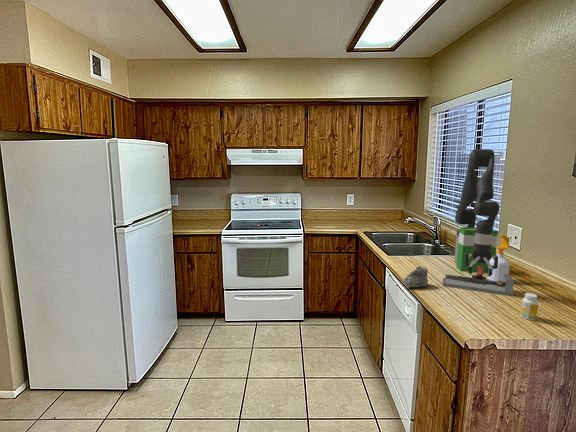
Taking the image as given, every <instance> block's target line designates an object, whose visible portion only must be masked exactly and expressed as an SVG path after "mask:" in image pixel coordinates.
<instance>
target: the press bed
mask: <svg viewBox="0 0 576 432" xmlns="http://www.w3.org/2000/svg"><path fill="white" fill-rule="evenodd" d="M442 286H443V287H448V288H455V289H463V290H469V291H475V292H476V291H477V292H483V293H488V294H489V293H490V294H495V295H502V296H510V297H514V291H513V290H514V278H513V276H512V275H511V274H503V282H502V281H493V280H489V279H487V283H486V284H481V283H473V282H472V277H469V276H462V275H461V276H460V275H455V274H445V277H443V279H442Z"/></svg>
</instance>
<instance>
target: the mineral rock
mask: <svg viewBox="0 0 576 432" xmlns="http://www.w3.org/2000/svg"><path fill="white" fill-rule="evenodd" d="M428 274H429V273H428V268H426V267H421V266H417V267H416V268H415V269H414V270H413V271H412V272H410V273H409V274H407V276H406V277H405V278H404V285H405V286H406V287H410V288H419V287H427V286H428V285H429V283H428V282H429V280H428Z"/></svg>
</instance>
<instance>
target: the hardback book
mask: <svg viewBox="0 0 576 432" xmlns="http://www.w3.org/2000/svg"><path fill="white" fill-rule="evenodd" d="M466 227H467V226H465V227H462V226H460V227H459V229H460V231H459V242H458V253H457V263H456V266H455V268H456V269H458V270H459V271H460V272H467V271H468V268H469V266H467V265H465V256H466V252H468V253H473V249H474V238H475V234H476V227H475V228H466ZM497 234H499V230H494V229H493V232H492V248H491V256H495V255H497V248H495V247H496V246H497V245H498V236H499V235H497ZM473 259H474V258H473V257H472V256H470V258H468V263H470V262H471V261H472V260H473ZM489 262H490V260H489ZM477 265H482V266H484V269H483V273H488V271H489V266H488V265H487V263H485V264H484V263H477V262H476V263H475V264H473V265H472V273H473V272H474V273H477Z"/></svg>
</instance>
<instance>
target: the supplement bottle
mask: <svg viewBox="0 0 576 432" xmlns="http://www.w3.org/2000/svg"><path fill="white" fill-rule="evenodd" d="M537 299H538V295H537V294H535V293H531V292H526V293H524V298H522V300H521V306H520V312H519V315H520V317H521V318H522V319H525V320H529V321H534V320H536V319H537V316H538V309H539V301H538V300H537Z"/></svg>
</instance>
